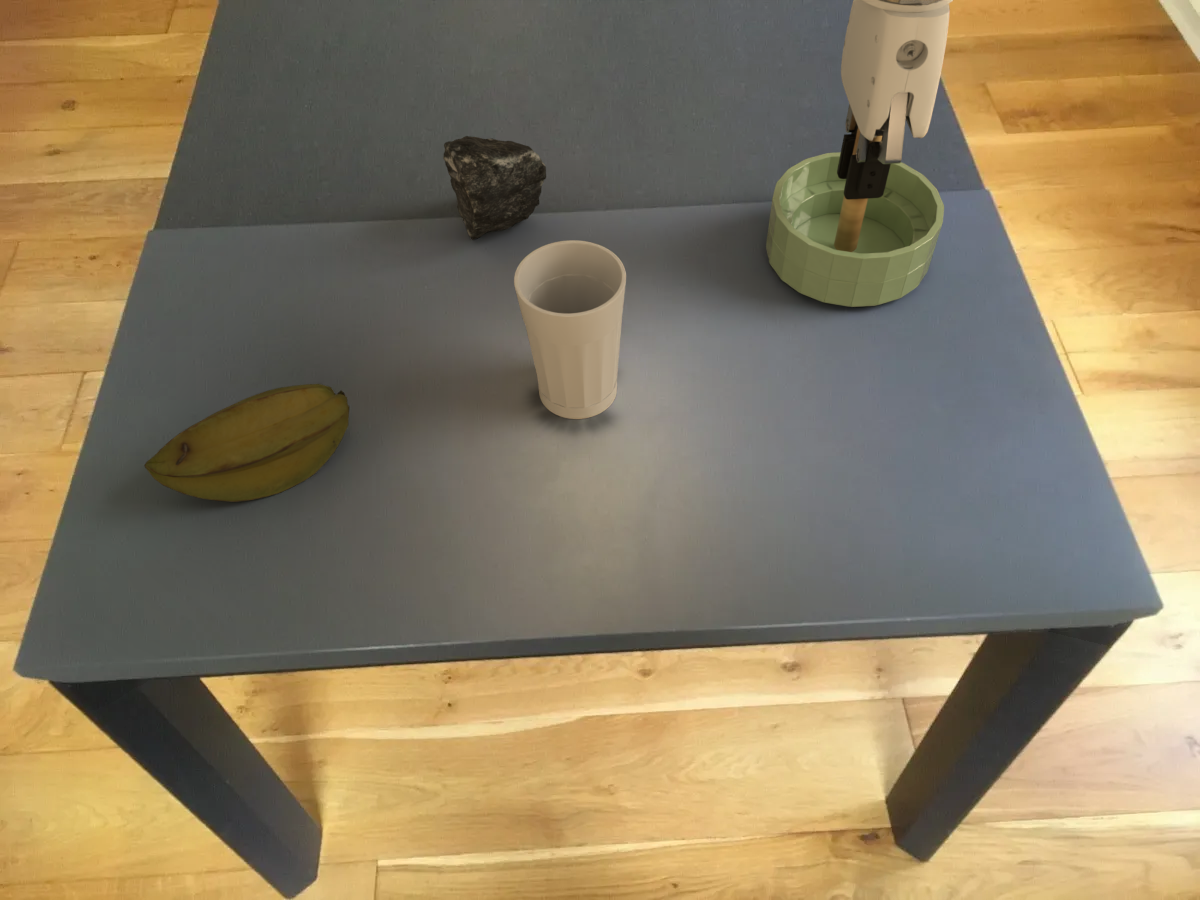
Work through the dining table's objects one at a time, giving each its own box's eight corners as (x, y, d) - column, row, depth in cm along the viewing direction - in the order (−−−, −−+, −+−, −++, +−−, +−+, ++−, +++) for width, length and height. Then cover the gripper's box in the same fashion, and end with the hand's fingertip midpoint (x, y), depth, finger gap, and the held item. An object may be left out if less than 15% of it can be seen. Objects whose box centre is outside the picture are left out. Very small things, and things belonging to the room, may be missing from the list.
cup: (645, 376, 79) (647, 263, 70) (592, 441, 75) (586, 331, 66) (564, 340, 82) (554, 227, 72) (509, 401, 78) (491, 290, 68)
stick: (854, 237, 87) (880, 119, 78) (858, 252, 86) (886, 134, 76) (831, 239, 87) (855, 121, 78) (836, 254, 86) (861, 136, 76)
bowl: (931, 218, 90) (948, 163, 85) (921, 324, 82) (938, 269, 77) (779, 196, 93) (786, 142, 88) (753, 296, 84) (760, 242, 80)
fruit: (306, 540, 70) (280, 487, 65) (161, 506, 73) (124, 452, 67) (371, 422, 77) (351, 365, 72) (236, 394, 79) (207, 337, 74)
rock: (489, 262, 88) (475, 170, 80) (441, 225, 92) (423, 133, 84) (554, 223, 91) (547, 130, 83) (506, 189, 95) (494, 96, 87)
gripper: (996, 21, 62) (928, 246, 77) (931, -90, 72) (882, 128, 86) (879, 27, 62) (833, 251, 76) (830, -85, 72) (797, 133, 86)
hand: (859, 184), depth 81 cm, fingers closed on stick, 2 cm apart
